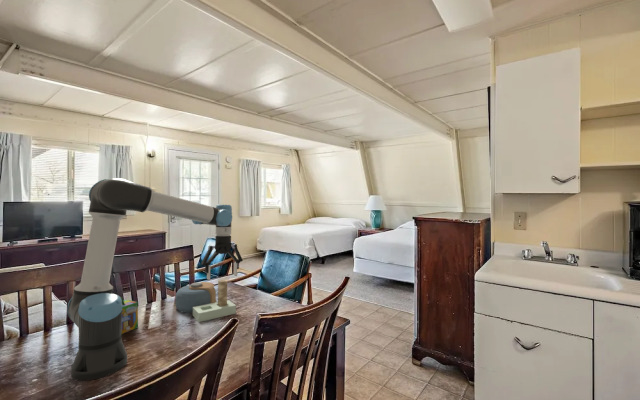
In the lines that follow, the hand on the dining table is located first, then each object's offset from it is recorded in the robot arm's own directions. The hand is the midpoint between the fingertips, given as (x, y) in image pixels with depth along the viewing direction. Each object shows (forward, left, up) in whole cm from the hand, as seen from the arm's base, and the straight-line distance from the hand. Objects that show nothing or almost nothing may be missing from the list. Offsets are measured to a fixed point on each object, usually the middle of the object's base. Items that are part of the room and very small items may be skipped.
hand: (222, 277), depth 149 cm
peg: (0, 0, -18) cm, 18 cm away
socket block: (-4, 0, -18) cm, 18 cm away
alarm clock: (-8, +17, -18) cm, 26 cm away
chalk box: (-42, +6, -18) cm, 46 cm away
